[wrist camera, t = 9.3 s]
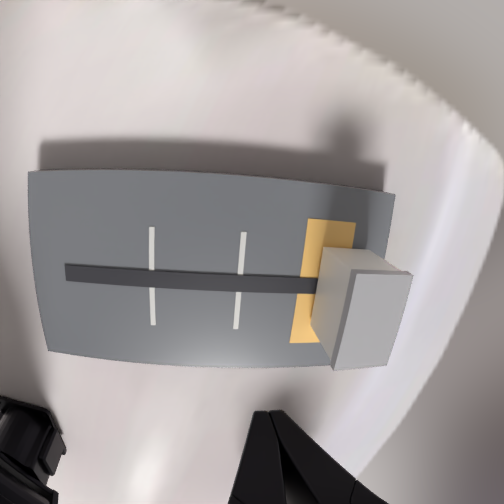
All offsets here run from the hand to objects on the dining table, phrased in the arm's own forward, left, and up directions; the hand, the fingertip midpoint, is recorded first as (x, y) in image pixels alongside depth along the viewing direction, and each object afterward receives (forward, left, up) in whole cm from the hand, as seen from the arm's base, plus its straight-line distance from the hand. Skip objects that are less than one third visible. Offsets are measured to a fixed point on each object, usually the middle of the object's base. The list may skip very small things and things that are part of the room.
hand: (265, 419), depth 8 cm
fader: (+6, 0, -10) cm, 12 cm away
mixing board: (-2, 0, -12) cm, 12 cm away
